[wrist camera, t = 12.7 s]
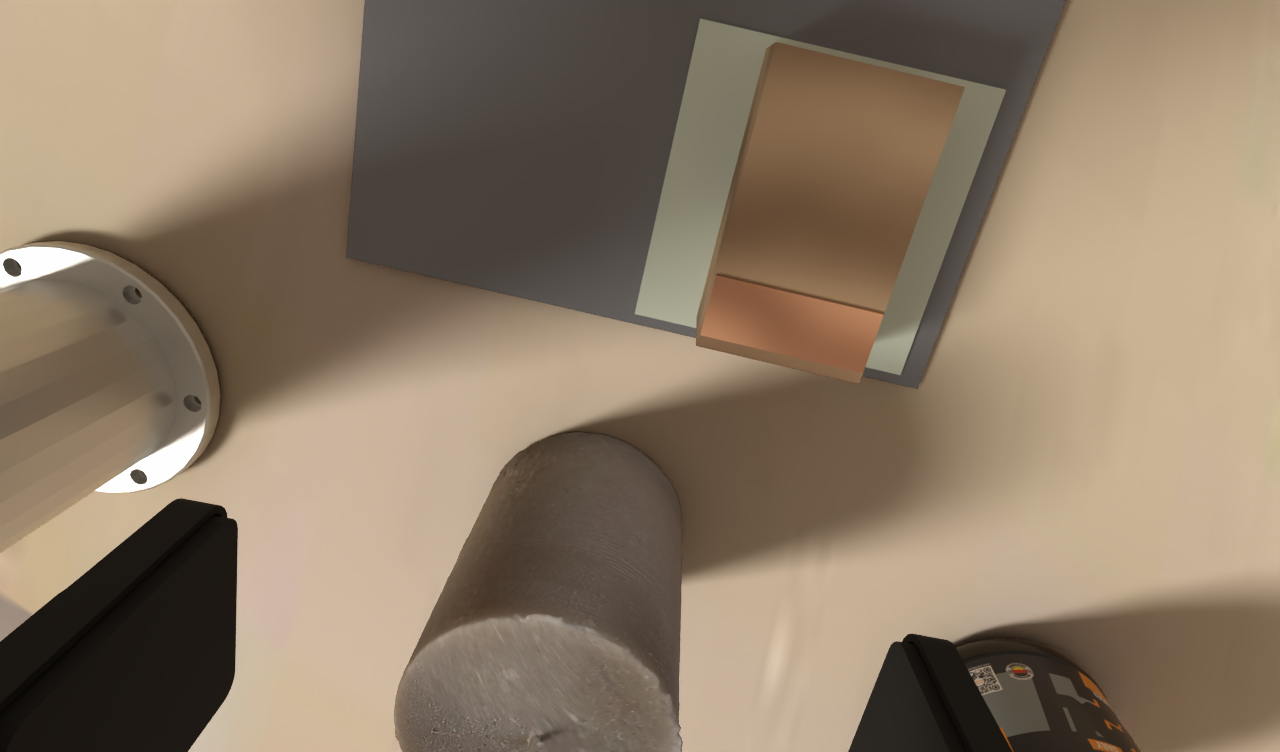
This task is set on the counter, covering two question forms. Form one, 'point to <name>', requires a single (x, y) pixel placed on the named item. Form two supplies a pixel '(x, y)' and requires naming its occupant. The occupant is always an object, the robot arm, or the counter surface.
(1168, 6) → the counter surface
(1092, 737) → the supplement container
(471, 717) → the pillar candle
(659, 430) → the counter surface
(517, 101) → the mat
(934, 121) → the brown rectangular block
